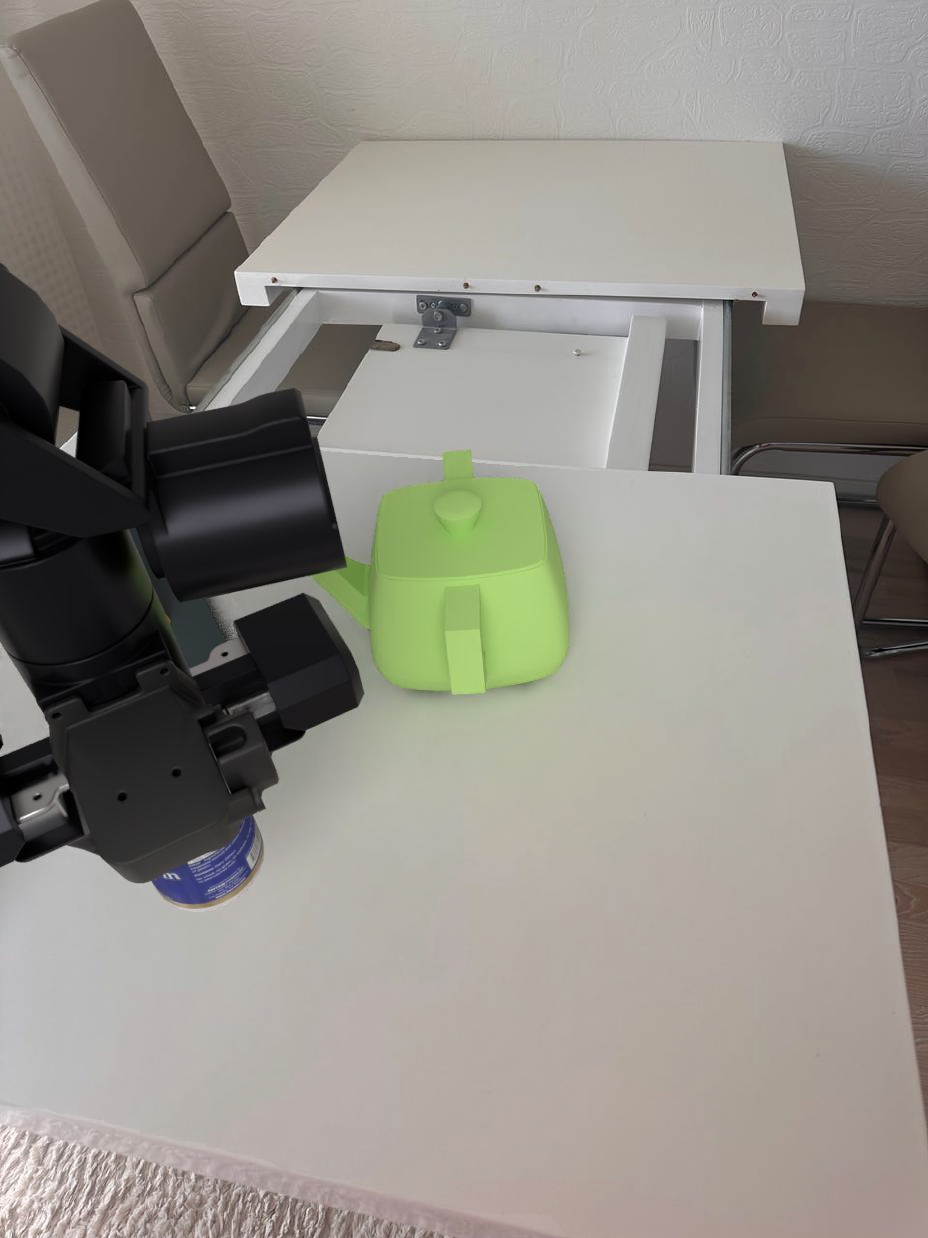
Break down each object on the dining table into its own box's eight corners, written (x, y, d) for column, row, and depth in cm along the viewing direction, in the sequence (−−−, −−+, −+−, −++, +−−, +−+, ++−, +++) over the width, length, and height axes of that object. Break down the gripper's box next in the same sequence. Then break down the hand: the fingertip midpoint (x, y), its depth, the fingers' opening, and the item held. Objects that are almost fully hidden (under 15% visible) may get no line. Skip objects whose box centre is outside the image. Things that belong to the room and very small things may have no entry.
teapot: (313, 756, 65) (269, 624, 56) (333, 560, 79) (301, 428, 70) (582, 737, 64) (584, 600, 55) (555, 542, 78) (552, 407, 69)
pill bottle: (134, 869, 49) (60, 754, 42) (223, 798, 52) (168, 678, 45) (198, 939, 46) (130, 828, 39) (289, 859, 49) (241, 742, 42)
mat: (124, 726, 68) (122, 721, 68) (62, 555, 82) (60, 550, 82) (242, 675, 71) (240, 670, 70) (163, 517, 85) (161, 512, 84)
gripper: (-185, 895, 28) (31, 1082, 39) (391, 645, 33) (436, 873, 44) (-193, 655, 35) (-9, 871, 46) (281, 481, 40) (344, 713, 51)
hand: (194, 833), depth 47 cm, fingers closed on pill bottle, 6 cm apart
